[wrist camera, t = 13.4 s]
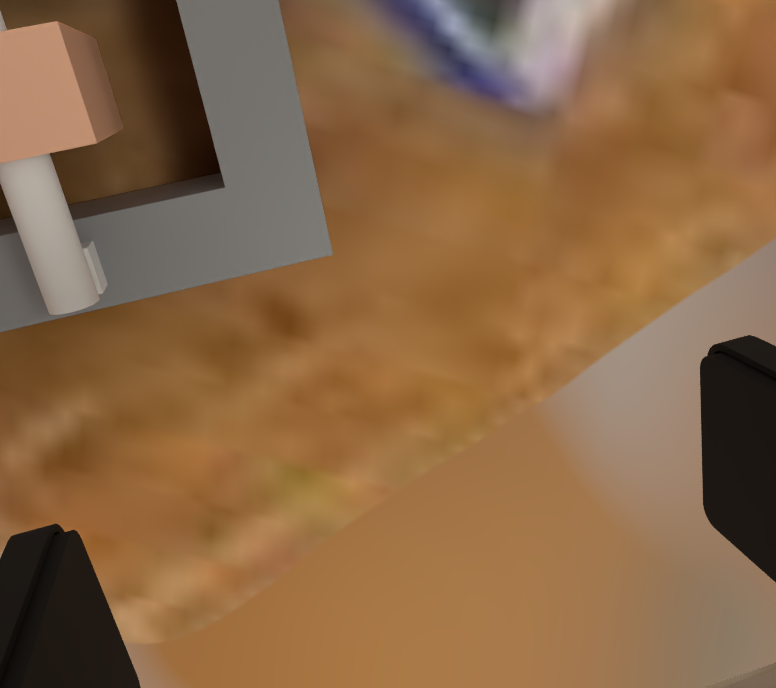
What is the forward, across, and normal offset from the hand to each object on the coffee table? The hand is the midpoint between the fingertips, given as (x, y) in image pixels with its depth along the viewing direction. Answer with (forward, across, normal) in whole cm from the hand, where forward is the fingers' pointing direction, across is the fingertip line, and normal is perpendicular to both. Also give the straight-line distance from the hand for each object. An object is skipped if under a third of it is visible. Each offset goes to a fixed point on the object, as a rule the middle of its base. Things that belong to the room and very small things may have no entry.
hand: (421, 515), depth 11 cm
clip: (+29, +9, -7) cm, 31 cm away
